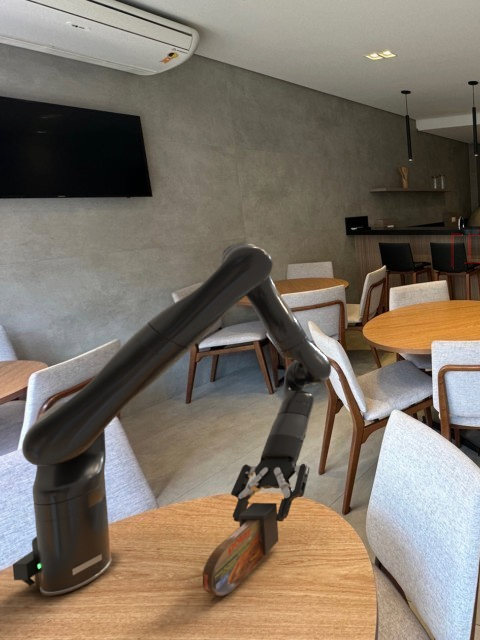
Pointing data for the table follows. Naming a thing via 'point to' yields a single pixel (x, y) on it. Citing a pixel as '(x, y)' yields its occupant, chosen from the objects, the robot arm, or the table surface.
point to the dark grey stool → (263, 522)
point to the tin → (234, 559)
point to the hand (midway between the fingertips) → (258, 521)
